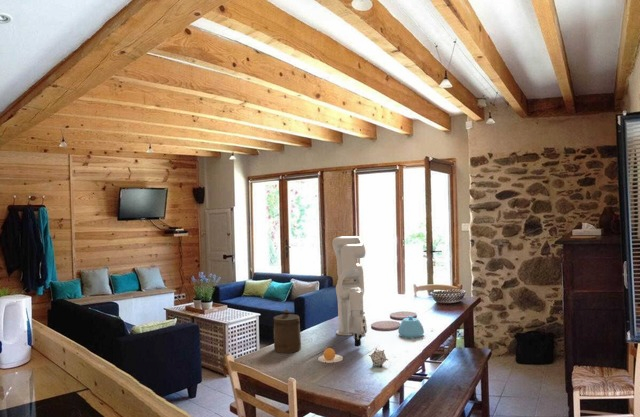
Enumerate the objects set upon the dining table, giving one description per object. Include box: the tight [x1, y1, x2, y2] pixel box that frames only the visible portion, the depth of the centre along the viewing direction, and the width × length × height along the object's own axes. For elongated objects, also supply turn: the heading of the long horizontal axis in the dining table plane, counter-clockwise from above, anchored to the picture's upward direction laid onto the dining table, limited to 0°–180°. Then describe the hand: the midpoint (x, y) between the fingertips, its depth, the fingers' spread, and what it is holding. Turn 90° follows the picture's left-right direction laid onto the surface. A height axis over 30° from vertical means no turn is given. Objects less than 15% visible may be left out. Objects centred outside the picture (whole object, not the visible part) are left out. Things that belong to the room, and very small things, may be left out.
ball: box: [323, 347, 336, 360], centre depth 249 cm, size 6×6×6 cm
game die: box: [368, 348, 389, 368], centre depth 238 cm, size 9×8×10 cm
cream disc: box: [317, 354, 344, 364], centre depth 251 cm, size 13×13×1 cm
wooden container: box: [273, 309, 302, 354], centre depth 270 cm, size 15×15×22 cm
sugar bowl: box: [398, 315, 425, 339], centre depth 289 cm, size 15×15×12 cm
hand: (357, 345), depth 267 cm, fingers closed
